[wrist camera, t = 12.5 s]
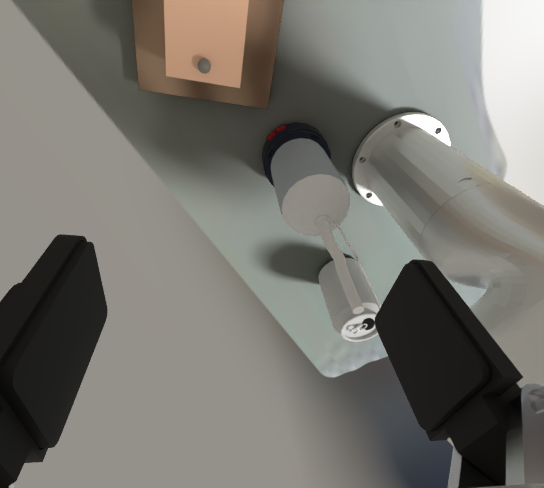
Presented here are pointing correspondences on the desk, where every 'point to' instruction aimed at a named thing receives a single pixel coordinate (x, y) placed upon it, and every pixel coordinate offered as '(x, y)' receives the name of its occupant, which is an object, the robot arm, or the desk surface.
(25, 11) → the desk surface
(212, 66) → the light orange block
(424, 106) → the desk surface
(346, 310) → the can
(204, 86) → the stand
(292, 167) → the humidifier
